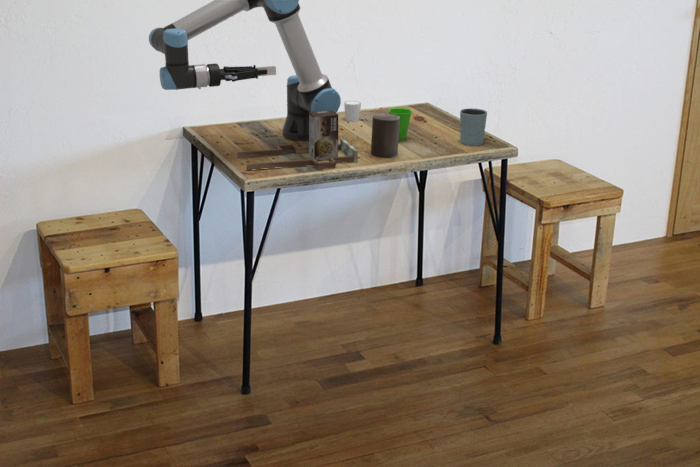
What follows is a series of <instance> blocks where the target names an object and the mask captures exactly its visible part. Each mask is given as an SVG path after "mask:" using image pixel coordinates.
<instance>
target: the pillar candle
mask: <svg viewBox="0 0 700 467" xmlns="http://www.w3.org/2000/svg"><path fill="white" fill-rule="evenodd" d="M399 121H400V117H399V116H397V115H393V114H389V113H387V112H385V113H384V112H383V113H376V114H373V115H372V124H371V127H372V128H371V144H370V154H371V155H372V156H375V157H379V158H393V157H397V156H398V154H399V153H398V152H399V141H398V139H399Z"/></svg>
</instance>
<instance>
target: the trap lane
mask: <svg viewBox="0 0 700 467" xmlns="http://www.w3.org/2000/svg"><path fill="white" fill-rule="evenodd" d="M339 140H340V142H339V143H338V152H339V151H341V152H342V153H343V154H344V155H345V156H343V155H342V156H338V157H329V159H328V161H324V162H323V161H322V162H321V161H320V162H319V160H318V161H317V160H316V159H312V158H306V159H293V160H282V161H281V160H280V161H269V162H257V163H246V171H247V170H252V169H261V168H275V167H288V168H294V167H293V166H300V167H307V166H306V165H313V166H314V167H315V168H314V167H313V166H312V167H313V168H314V169H317V168H318V169H317V170H325V169H324V168H329V169H336V167H337V164H344V163H345V162H348V163H358V158H359V157H358V152H359V151H358V149H356V148H355V147H354V146H353V145H352V144H350V143H349V142H348V141H347V140H345V138H340V139H339ZM236 154H237V159H249V158H261V157H274V156H283V155H286V154H295V155H299V154H309V146H300V147H299V146H297V145H296V144H294V143H290V144H286V143H285V144H277V145H276V146H275V148H274V149H273V148H272V149H262V150H261V149H259V150H249V151H248V150H247V151H246V150H245V151H237V152H236ZM343 162H344V163H343ZM345 164H346V163H345ZM335 166H336V167H335ZM252 171H253V170H252Z"/></svg>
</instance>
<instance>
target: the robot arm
mask: <svg viewBox="0 0 700 467" xmlns="http://www.w3.org/2000/svg"><path fill="white" fill-rule="evenodd" d="M299 1H300V0H212V1H210V2H209V3H207V4H205V5H203V6H201V7H200V8H197V9H196V10H194V11H192V12H190V13H189V14H187V15H185V16H183V17H181V18H179V19H177V20H176V21H174V22H172V23H170V24H168V25H166V26H164V27H155V28H154V29H152V30H151V32H150V33H149V35H148V42H149V44H150V46H151V47H152V48H153V49H154V50H155V51H157V52H158V53H159V52H160V53H161V54H163V55H164V60H165V66H164V67H160V69H159V82H160V86H161V88H162V89H163V90H165V91H166V90H167V91H168V90H169V91H172V90H175V91H178V90H185V89H196V88H197V89H198V90H201V89H202V88H207V87H209V88H211V87H213V88H214V87H220V86H221V84H222V81H225V82H230V81H231V82H233V83H234V82H237V81H243V80H251V79H259V77H266V76H275V75H276V76H277V66H275V65H271V66H270V65H269V66H259V67H258V66H257V65H256V64H253V66H252V65H250V66H225V65H224V66H223V68H220V66H219V64H218V63H208V64H205V63H202V64H191V65H190V64H189V63H190V62H189V48H188V47H189V45H188V44H189V41H190V40H191V39H193V38H195V37H197V36H199V35H201V34H202V33H205V32H206V31H208V30H210V29H211V28H214V27H216V26H217V25H219V24H221V23H222V22H225V21H226V20H228V19H230V18H231V17H234V16H235V15H237V14H240V13H241V12H243V11H245V12H249V11H251V10H252V9H256V8H263V9H264V12H265V15H266V16H267V20H268V21H269V22H271V23H274V25H275V27H276V29H277V31H278V35H279V37H280V38H281V42H282V44H283V47H284V49H285V51H286V53H287V56H288V58H289V60H290V63H291V65H292V68H293V70H294V73H295V74H294V75H290V76H288V78H287V81H286V107H287V108H286V111H287V112H286V118H285V120H284V124H283V127H282V137H284V138H286V139H289V140H293V141H309V112H317V111H330V110H333V111H334V112H336V113H337V112H338V111H339V109H340V106H341V102H342V100H341V99H342V98H341V96H340V92H338V91H337V90H336V88H335V89H334V88H333V87H332V83H331V82H330V80H329V77H328V75H326V74H323V73H322V71H321V69H320V66H319V63H318V61H317V57H316V56H315V52H314V51H313V48H312V46H311V43H310V41H309V38H308V36H307V33H306V30H305V28H304V26H303V23H302V20H301V18H300V16H299V13H300V11H301V6H300V4H299ZM337 114H338V113H337Z"/></svg>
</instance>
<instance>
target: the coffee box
mask: <svg viewBox="0 0 700 467" xmlns="http://www.w3.org/2000/svg"><path fill="white" fill-rule="evenodd" d="M308 142H309V143H308V147H309V153H308V156H309V158H310V159H316V160H318V161H326V159H328V160H329V157H339V151H338V144H339V114H338V113H336V112H334V111H333V110H330V111H317V112H309V140H308Z"/></svg>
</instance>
